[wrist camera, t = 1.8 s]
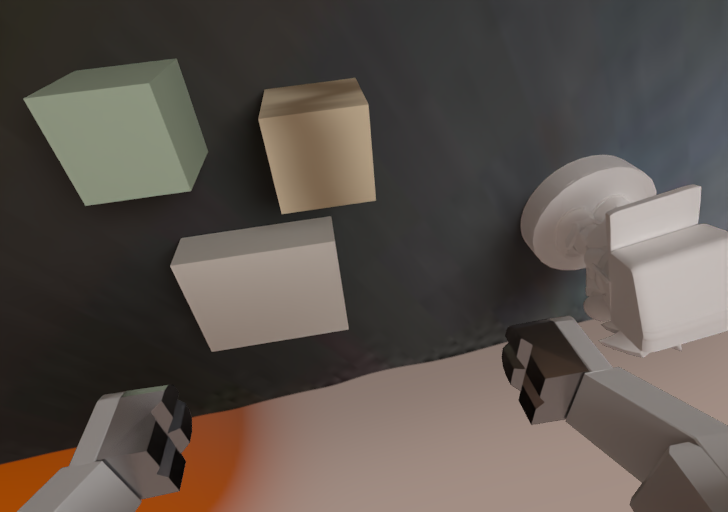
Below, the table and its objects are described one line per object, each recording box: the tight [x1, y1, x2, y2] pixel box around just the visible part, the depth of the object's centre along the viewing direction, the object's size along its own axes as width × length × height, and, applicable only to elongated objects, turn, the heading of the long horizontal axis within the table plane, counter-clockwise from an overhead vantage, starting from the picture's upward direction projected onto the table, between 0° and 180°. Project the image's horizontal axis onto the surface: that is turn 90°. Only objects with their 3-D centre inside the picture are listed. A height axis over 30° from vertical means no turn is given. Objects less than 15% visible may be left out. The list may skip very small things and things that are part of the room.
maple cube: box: [258, 78, 376, 214], centre depth 22 cm, size 5×5×5 cm
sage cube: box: [24, 59, 208, 206], centre depth 20 cm, size 5×5×5 cm
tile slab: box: [170, 216, 349, 352], centre depth 28 cm, size 10×8×3 cm
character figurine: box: [520, 155, 728, 358], centre depth 25 cm, size 9×10×12 cm
